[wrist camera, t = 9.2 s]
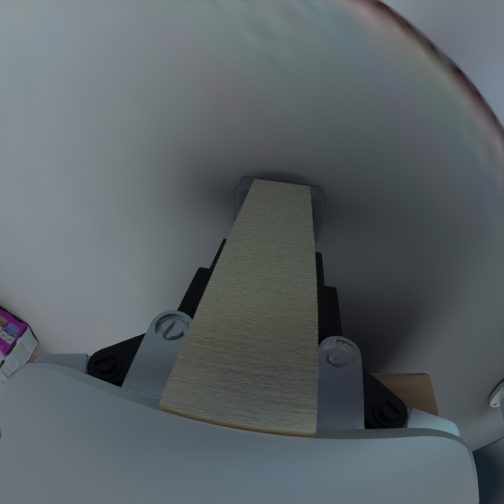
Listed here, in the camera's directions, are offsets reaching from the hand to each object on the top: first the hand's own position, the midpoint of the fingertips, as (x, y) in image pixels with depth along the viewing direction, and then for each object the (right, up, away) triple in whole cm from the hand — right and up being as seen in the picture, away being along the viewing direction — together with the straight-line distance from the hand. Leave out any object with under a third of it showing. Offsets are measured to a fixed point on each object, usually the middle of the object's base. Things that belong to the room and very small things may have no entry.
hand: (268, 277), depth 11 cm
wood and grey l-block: (0, -2, +6) cm, 7 cm away
